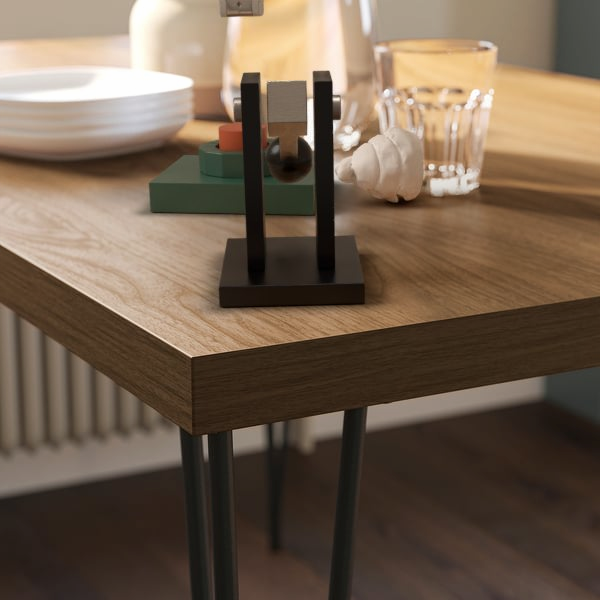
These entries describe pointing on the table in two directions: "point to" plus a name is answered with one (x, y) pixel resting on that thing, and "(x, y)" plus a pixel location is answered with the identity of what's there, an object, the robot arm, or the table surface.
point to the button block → (224, 186)
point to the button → (235, 137)
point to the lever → (288, 131)
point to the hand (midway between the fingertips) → (242, 16)
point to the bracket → (290, 250)
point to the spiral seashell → (386, 165)
